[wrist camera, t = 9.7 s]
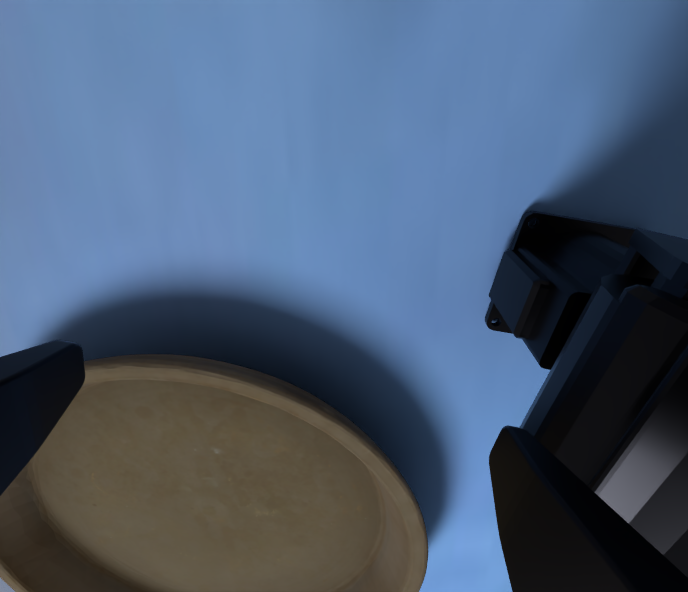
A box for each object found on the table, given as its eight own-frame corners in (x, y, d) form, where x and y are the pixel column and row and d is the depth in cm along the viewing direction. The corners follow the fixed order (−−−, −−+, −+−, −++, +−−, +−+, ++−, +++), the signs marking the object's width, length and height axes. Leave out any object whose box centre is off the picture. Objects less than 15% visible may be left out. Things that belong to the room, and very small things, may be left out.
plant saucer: (458, 347, 23) (477, 399, 19) (393, 628, 36) (396, 695, 32) (-56, 300, 24) (-146, 340, 20) (66, 592, 37) (28, 652, 33)
